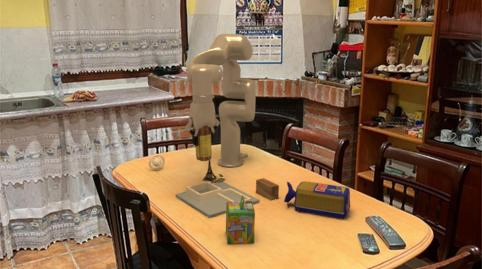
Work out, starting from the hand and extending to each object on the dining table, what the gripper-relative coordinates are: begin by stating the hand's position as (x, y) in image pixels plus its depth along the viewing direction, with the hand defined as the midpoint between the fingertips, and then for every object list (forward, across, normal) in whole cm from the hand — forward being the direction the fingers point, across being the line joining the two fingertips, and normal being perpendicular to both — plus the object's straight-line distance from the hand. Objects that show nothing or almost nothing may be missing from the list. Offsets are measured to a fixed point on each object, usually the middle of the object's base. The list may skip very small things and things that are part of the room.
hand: (203, 143), depth 184 cm
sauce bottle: (+7, 0, 0) cm, 7 cm away
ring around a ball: (+23, 0, -40) cm, 46 cm away
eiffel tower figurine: (+24, -13, -16) cm, 31 cm away
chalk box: (+24, +9, +36) cm, 44 cm away
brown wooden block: (+23, -22, +14) cm, 35 cm away
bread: (+24, -28, +36) cm, 52 cm away
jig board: (+23, -3, +5) cm, 24 cm away
